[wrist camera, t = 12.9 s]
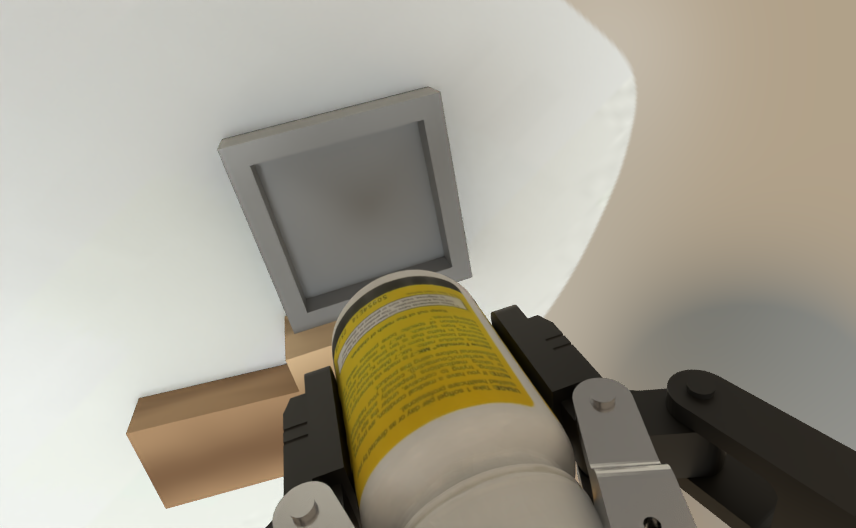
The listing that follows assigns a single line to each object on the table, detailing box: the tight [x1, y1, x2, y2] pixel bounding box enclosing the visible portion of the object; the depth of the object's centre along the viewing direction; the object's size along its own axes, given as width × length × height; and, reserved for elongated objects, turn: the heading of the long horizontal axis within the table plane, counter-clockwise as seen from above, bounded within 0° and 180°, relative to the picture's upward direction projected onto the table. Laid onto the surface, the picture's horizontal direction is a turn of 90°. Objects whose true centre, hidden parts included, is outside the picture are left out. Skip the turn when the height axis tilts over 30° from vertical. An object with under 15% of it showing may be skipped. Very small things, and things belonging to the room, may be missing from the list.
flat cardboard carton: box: [126, 364, 301, 509], centre depth 28 cm, size 6×9×3 cm, turn 95°
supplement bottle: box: [332, 270, 604, 528], centre depth 12 cm, size 5×5×8 cm
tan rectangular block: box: [285, 316, 336, 394], centre depth 27 cm, size 6×3×4 cm, turn 11°
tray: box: [217, 87, 472, 334], centre depth 24 cm, size 10×10×2 cm
